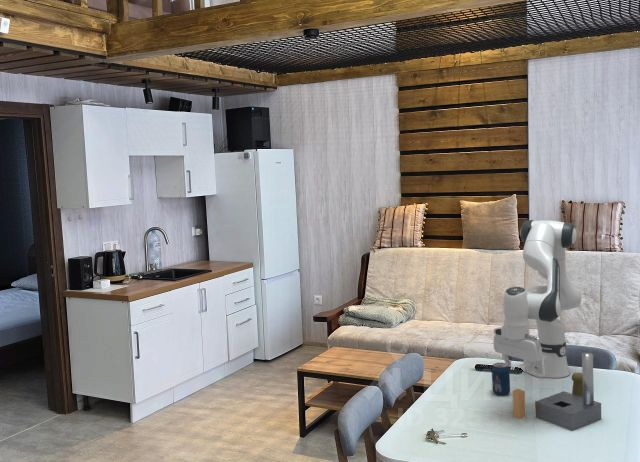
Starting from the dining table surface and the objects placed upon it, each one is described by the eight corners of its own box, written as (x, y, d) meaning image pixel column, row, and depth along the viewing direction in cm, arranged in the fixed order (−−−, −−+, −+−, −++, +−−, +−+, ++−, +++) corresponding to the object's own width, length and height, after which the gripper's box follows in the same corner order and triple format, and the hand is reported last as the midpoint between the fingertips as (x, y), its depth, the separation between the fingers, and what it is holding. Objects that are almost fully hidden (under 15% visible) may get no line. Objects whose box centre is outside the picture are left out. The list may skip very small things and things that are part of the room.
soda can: (508, 390, 269) (507, 362, 267) (511, 396, 262) (510, 367, 261) (491, 390, 269) (490, 362, 268) (494, 396, 263) (493, 367, 261)
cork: (589, 403, 249) (588, 376, 248) (572, 403, 250) (571, 375, 249) (586, 398, 255) (585, 370, 254) (569, 398, 256) (569, 370, 255)
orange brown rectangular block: (513, 416, 242) (512, 390, 241) (519, 414, 243) (518, 388, 242) (519, 419, 239) (519, 392, 238) (525, 416, 241) (524, 390, 240)
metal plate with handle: (535, 417, 240) (533, 353, 237) (564, 406, 248) (562, 345, 246) (572, 430, 226) (570, 363, 224) (601, 419, 234) (600, 354, 232)
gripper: (545, 335, 231) (547, 373, 232) (501, 325, 248) (503, 361, 249) (533, 339, 227) (534, 377, 229) (490, 328, 245) (491, 364, 246)
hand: (518, 368), depth 239 cm, fingers open, 8 cm apart
